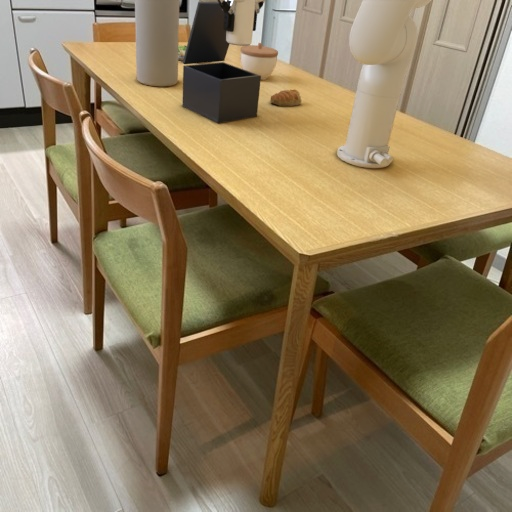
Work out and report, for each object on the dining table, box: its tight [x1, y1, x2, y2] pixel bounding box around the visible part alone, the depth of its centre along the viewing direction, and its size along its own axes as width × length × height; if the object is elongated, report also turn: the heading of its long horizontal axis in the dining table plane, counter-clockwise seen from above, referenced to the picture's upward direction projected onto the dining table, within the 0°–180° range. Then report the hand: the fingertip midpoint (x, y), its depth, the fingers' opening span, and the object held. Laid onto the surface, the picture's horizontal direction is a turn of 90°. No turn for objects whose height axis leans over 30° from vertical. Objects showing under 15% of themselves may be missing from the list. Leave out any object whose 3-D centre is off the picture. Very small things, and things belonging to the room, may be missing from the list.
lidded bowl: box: [239, 42, 279, 81], centre depth 175 cm, size 13×13×11 cm
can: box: [226, 0, 255, 47], centre depth 127 cm, size 6×6×12 cm
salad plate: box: [178, 45, 187, 62], centre depth 191 cm, size 19×18×5 cm
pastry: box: [269, 89, 302, 107], centre depth 153 cm, size 9×7×4 cm
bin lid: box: [182, 0, 230, 65], centre depth 135 cm, size 16×14×5 cm
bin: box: [181, 61, 262, 124], centre depth 138 cm, size 16×14×11 cm
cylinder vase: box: [134, 0, 180, 88], centre depth 154 cm, size 12×12×25 cm
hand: (239, 29), depth 129 cm, fingers closed on can, 6 cm apart
